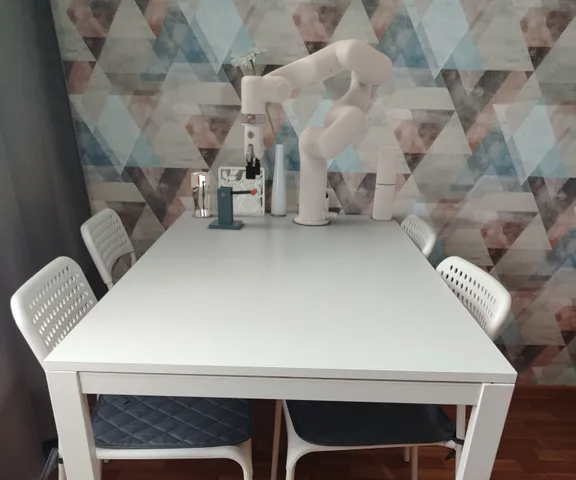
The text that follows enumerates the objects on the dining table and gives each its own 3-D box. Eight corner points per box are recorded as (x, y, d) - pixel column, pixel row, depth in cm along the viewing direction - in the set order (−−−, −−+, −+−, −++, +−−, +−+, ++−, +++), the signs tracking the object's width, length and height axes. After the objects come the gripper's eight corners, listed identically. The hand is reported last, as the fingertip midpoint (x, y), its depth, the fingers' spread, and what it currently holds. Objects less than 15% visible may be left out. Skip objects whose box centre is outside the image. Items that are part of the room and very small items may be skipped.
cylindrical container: (382, 221, 204) (389, 148, 192) (368, 217, 209) (375, 146, 197) (395, 218, 208) (403, 147, 196) (381, 215, 213) (389, 145, 201)
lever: (257, 194, 188) (256, 186, 187) (255, 196, 183) (254, 189, 182) (223, 195, 189) (222, 188, 188) (219, 198, 185) (219, 191, 184)
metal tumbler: (210, 218, 202) (208, 175, 194) (191, 217, 202) (188, 174, 194) (212, 214, 208) (211, 172, 201) (194, 213, 208) (192, 171, 201)
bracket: (242, 223, 195) (241, 186, 189) (237, 229, 187) (236, 190, 181) (214, 222, 196) (213, 184, 190) (209, 228, 188) (207, 189, 182)
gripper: (260, 122, 167) (260, 181, 175) (268, 119, 182) (268, 174, 190) (236, 121, 167) (237, 180, 175) (246, 118, 182) (246, 173, 190)
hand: (253, 177), depth 183 cm, fingers open, 9 cm apart
